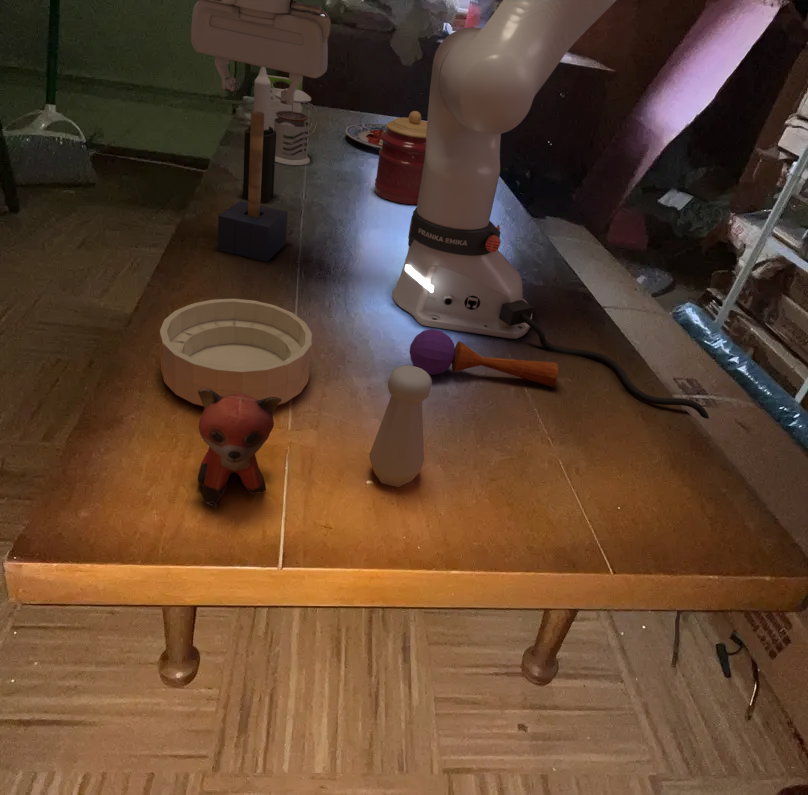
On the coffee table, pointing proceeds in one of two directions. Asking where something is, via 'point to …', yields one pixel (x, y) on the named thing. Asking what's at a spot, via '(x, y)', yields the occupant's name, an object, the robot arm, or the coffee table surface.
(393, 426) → the salt shaker
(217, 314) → the bowl
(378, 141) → the ceramic plate
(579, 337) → the coffee table surface
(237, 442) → the stuffed fox
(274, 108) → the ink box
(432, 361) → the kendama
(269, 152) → the black and white bottle
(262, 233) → the stand
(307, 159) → the french press
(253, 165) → the stick
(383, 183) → the kitchen canister
